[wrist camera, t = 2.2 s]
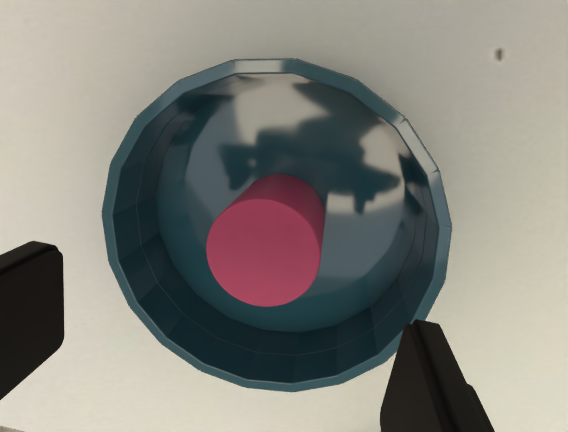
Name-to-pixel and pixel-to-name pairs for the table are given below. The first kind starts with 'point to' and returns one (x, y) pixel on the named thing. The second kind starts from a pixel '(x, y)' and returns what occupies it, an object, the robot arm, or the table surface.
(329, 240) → the bowl
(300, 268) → the pink cylinder block
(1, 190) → the table surface
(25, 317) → the robot arm
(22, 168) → the table surface
